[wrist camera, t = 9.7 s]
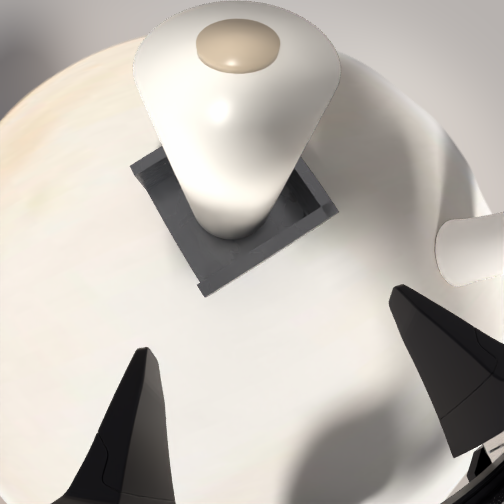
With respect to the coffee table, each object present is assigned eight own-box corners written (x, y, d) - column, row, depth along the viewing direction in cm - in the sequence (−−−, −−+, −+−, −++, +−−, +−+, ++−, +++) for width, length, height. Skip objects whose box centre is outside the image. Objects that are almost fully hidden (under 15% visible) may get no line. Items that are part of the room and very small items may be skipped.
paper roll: (286, 194, 19) (373, 48, 6) (239, 255, 18) (265, 171, 5) (224, 151, 19) (224, -19, 6) (176, 208, 18) (90, 68, 5)
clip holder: (251, 127, 20) (255, 99, 16) (320, 225, 19) (338, 211, 16) (145, 186, 19) (129, 166, 15) (209, 295, 18) (204, 297, 15)
